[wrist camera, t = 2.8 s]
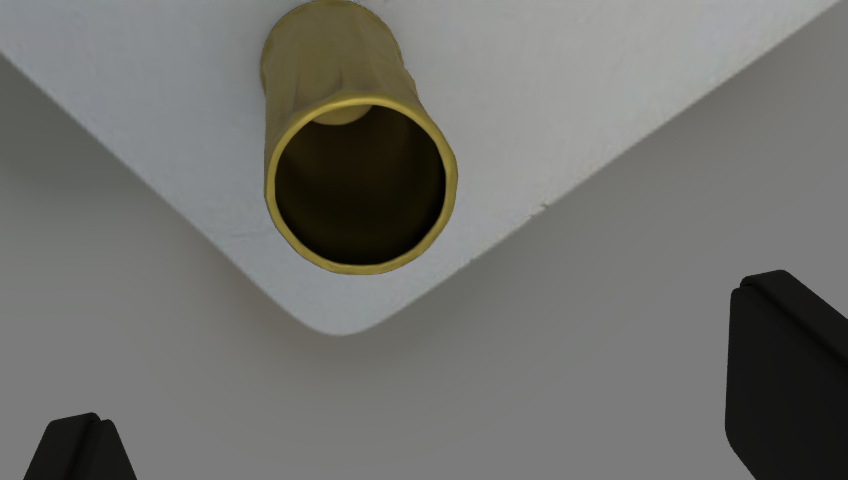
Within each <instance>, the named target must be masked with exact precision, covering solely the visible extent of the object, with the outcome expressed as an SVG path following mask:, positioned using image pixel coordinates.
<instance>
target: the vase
mask: <svg viewBox="0 0 848 480" xmlns="http://www.w3.org/2000/svg"><path fill="white" fill-rule="evenodd" d="M260 77H261V82H262V87H263V90H264V94H265V97H266V132H265V150H264V197H265V201H266V204H267V208H268V211H269V214H270V216H271V219H272V221H273V223H274V225H275V227H276V228H277V230H278V231H279V232H280V233H281V235H282V236H283V237H284V238H285V240H286V241H287V242H288V243H289V245H290V246H291V247H292V248H293V249H294V250H295V251H296V252H297V253H298V254H299V255H301V256H302V257H303V258H305V259H306V260H308V261H310V262H311V263H313V264H315V265H317V266H319V267H321V268H323V269H325V270H328V271H330V272H334V273H338V274H347V275H373V274H382V273H385V272H389V271H392V270H395V269H397V268H399V267H402V266H404V265H406V264H407V263H409V262H411V261H413V260H414V259H416V258H417V257H418V256H420V255H421V254H422V253H424V252H425V251H426V250H427V249H428V248H429V247H430V246H431V244H432V243H433V242H434V241H435V239H436V238H437V237H438V235H439V234H440V233H441V232H442V230H443V229H444V227H445V225H446V224H447V222H448V221H449V219H450V216H451V214H452V212H453V208H454V203H455V197H456V189H457V181H458V169H457V162H456V158H455V155H454V153H453V151H452V149H451V148H450V146H449V144H448V142H447V141H446V139H445V137H444V135H443V134H442V132H441V131H440V129H439V128H438V126H437V125H436V124H435V122H434V121H433V120H432V119H431V118H430V116H429V115H428V114H427V112H426V111H425V109H424V107H423V106H422V104H421V103H420V100H419V97H418V94H417V90H416V85H415V81H414V79H413V78H412V77H411V75H410V74H409V72H408V71H407V70H406V69H405V68H404V64H403V60H402V56H401V53H400V50H399V47H398V45H397V42H396V40H395V38H394V36H393V34H392V33H391V31H390V30H389V28H388V27H387V26H386V24H385V23H384V22H383V21H382V20H381V19H379V18H378V17H377V16H376V15H375V14H373V13H372V12H370V11H369V10H367V9H366V8H364V7H362V6H360V5H358V4H355V3H353V2H349V1H344V0H317V1H313V2H309V3H306V4H304V5H301V6H299V7H297V8H296V9H294V10H292V11H291V12H289V13H288V14H287V15H285V16H284V17H283V18H282V19H281V20H280V21H279V22H278V23H277V24H276V25H275V27H274V28H273V29H272V31H271V33H270V34H269V36H268V38H267V40H266V43H265V46H264V48H263V52H262V56H261V62H260Z"/></svg>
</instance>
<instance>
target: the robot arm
mask: <svg viewBox="0 0 848 480" xmlns="http://www.w3.org/2000/svg"><path fill="white" fill-rule="evenodd" d="M725 431H726V436H727V439H728V441H729V443H730V446H731V447H732V449H733V450H734V452H735V453H736V454H737V456H738V457H739V458H740V460H741V461H742V462H743V464H744V465H745V466H746V467H747V469H748V470H749V471H750V473H751V474H752V475H753V476H754V478H755V479H756V480H848V319H846V318H845V317H844V316H843V315H841V314H840V313H839V312H838V311H836V310H835V309H834V308H833V307H831V306H830V305H829V304H828V303H826V302H825V301H824V300H823V299H821V298H820V297H819V296H818V295H816V294H815V293H814V292H812V291H811V290H810V289H809V288H807V287H806V286H805V285H804V284H802V283H801V282H800V281H799V280H797V279H796V278H795V277H793V276H792V275H791V274H790V273H788V272H787V271H785V270H776V271H771V272H766V273H761V274H756V275H751V276H746V277H745V278H744V279H742V281H741V283H740V288H736V289H734V290H733V291H732V293H731V300H730V322H729V345H728V366H727V388H726V410H725ZM23 480H137V478H136V476H135V473H134V471H133V469H132V466H131V464H130V461H129V459H128V456H127V454H126V452H125V449H124V447H123V444H122V442H121V439H120V437H119V434H118V432H117V430H116V427H115V425H114V423H113V422H112V421H111V420H109V419H107V420H102V421H101V420H100V418H99V417H98V416H97V414H95V413H92V412H91V413H86V414H82V415H77V416H72V417H67V418H62V419H58V420H53V421H51V422H50V423H49V424H48V426H47V428H46V430H45V432H44V434H43V437H42V439H41V441H40V443H39V446H38V448H37V450H36V452H35V454H34V457H33V459H32V461H31V463H30V466H29V468H28V470H27V472H26V475H25V477H24V479H23Z"/></svg>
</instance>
